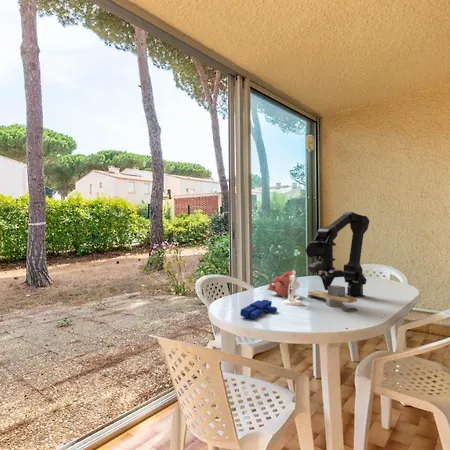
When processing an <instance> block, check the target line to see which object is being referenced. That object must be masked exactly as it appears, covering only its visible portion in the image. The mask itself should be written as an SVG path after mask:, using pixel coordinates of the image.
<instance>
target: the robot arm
mask: <svg viewBox="0 0 450 450" xmlns="http://www.w3.org/2000/svg"><path fill="white" fill-rule="evenodd" d="M348 225H350V226H349V228H350V231H351V232H352V236H351V244H350V251H349V258H348V259H349V260H348V262H347V263H346V264H344V265H343V270H341V269H336V267H335V266H334V261H336V258H334V256H333V255H334V254H333V253H334V247H335V246H337V244H336V242H334V240H335V239H336V238H337V237H338V235H339V234H338V233H339V232H340V231H341V230H342V229H344V228H345V227H346V226H348ZM369 225H370V219H369V217H368V216H367V215H362V214H358V213H356V212H353V211H349V212H344V213H343V214H342V215H341V216H339V217H338V218H337V219H336V220H335V221H334V222H333V221H332V223H330V224H329V225H326V226H323V227H321V228H319V229H318V230H317V232H316V235H315V236H314V239H313V240H312V241H309V242H308V243H309V244H307V246H306V249H305V253H306V256H307V257H309V258H317V261H316V262H313V263H309V264H308V265H307V268H308V271H309V273H312V274H316V275H317V276H318V277H319V278H320V279H321V282H322V284H323V288H324V291H328V286H332V283H333V281H334V280H335V278H344V283H346V284H347V289H346V292H347V293H346V296H348V297H354V298H361V297H366V294H364V285H366V284H367V278H366V277H365V275H364V274H363V268H362V265H361V257H362V249H363V239H364V236H365V233H366V232H367V230H368V229H369Z"/></svg>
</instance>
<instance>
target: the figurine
mask: <svg viewBox="0 0 450 450" xmlns="http://www.w3.org/2000/svg"><path fill="white" fill-rule="evenodd" d="M292 273H293V275H290V276H289V277H290V280H291V281H292V282H291V284H290V285H289V288H288V295H287V299H284V300H283V301H282V305H285V306H292V307H293V306H302V304H303V303H302V302H303V301H301V300H300V298H301V297H300V296H296V297H294V296H295V294H296V290H297V289H299V288H300V285H301V284H300V282H299V281H297V276H295V275H296V274H297V272H296V270H295V269H294V270H292ZM290 286H291V289H292V293H291V294H290Z"/></svg>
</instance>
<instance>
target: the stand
mask: <svg viewBox="0 0 450 450" xmlns="http://www.w3.org/2000/svg"><path fill="white" fill-rule="evenodd" d="M307 298H310V299H313V298H314V299H315V298H319V297H318V296H314V295H309V294H307ZM325 299H326V300H325V303H326V306H328V307H335V306H344V302H341V301H336V300H332V299H327V298H325ZM341 311H342V312H343V313H350V312H358V311H359V308H358V307H353V306H352V307H345V308H341Z"/></svg>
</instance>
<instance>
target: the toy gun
mask: <svg viewBox="0 0 450 450" xmlns="http://www.w3.org/2000/svg"><path fill="white" fill-rule="evenodd" d="M272 303H273V302H272V301H271V300H269V299H263V300H255V301H253V302H252V303H250V304H249V305H247V306H245V307H243V308H242V309H240V312H239V313H240V316H241V317H243V318H247V319H249V318H250V319H253V320H255V319H257V318H258V316H261V315H264V314H265V313H269V314H275V313H277V312H278V307H276V306H272V305H273V304H272Z"/></svg>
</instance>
